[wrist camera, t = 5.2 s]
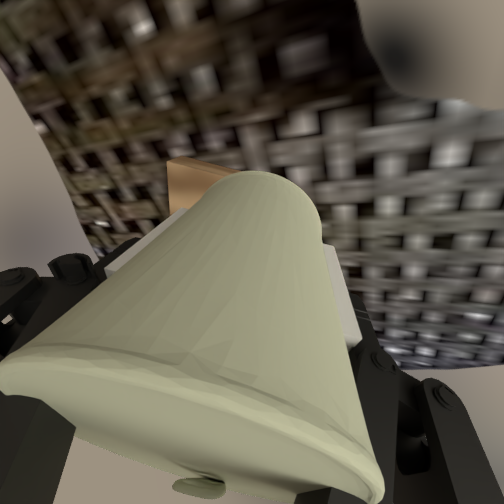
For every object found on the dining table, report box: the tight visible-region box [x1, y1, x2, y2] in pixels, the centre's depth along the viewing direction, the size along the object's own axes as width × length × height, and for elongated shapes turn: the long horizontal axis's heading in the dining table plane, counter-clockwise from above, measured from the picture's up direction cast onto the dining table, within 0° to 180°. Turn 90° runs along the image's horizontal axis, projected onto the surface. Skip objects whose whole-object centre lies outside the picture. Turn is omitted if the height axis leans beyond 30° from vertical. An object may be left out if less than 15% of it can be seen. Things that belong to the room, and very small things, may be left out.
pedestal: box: [167, 156, 242, 216], centre depth 30 cm, size 16×16×4 cm
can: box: [0, 171, 385, 504], centre depth 9 cm, size 9×9×12 cm
